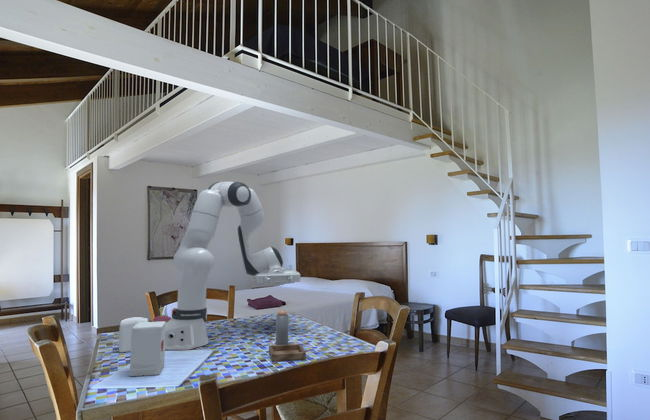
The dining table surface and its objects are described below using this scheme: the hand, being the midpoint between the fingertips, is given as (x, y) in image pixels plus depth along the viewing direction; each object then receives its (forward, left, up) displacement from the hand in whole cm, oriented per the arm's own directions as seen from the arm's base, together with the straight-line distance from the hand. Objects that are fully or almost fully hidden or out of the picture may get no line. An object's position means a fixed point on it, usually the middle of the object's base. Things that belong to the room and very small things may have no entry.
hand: (279, 280), depth 176 cm
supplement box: (-46, -36, -25) cm, 63 cm away
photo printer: (-56, -10, -25) cm, 62 cm away
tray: (0, -28, -25) cm, 37 cm away
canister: (0, -13, -25) cm, 28 cm away
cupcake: (-51, +21, -25) cm, 61 cm away
